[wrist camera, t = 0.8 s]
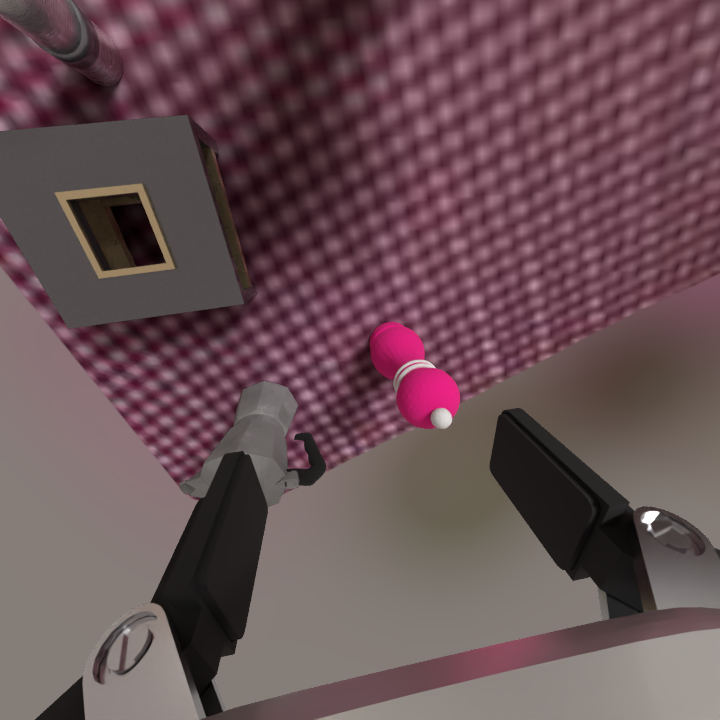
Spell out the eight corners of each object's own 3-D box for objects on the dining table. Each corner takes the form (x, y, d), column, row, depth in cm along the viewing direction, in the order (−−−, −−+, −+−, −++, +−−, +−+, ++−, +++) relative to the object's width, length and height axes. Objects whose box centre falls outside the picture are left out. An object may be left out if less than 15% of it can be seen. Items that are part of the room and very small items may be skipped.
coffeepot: (229, 432, 43) (174, 549, 27) (218, 381, 39) (145, 481, 23) (325, 426, 45) (327, 531, 29) (323, 377, 41) (325, 466, 25)
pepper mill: (367, 365, 41) (403, 463, 23) (364, 321, 38) (403, 393, 20) (412, 360, 42) (481, 450, 24) (412, 315, 39) (492, 381, 21)
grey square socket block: (215, 141, 28) (185, 113, 22) (257, 293, 35) (243, 304, 29) (32, 158, 27) (-55, 134, 21) (112, 313, 33) (66, 329, 27)
